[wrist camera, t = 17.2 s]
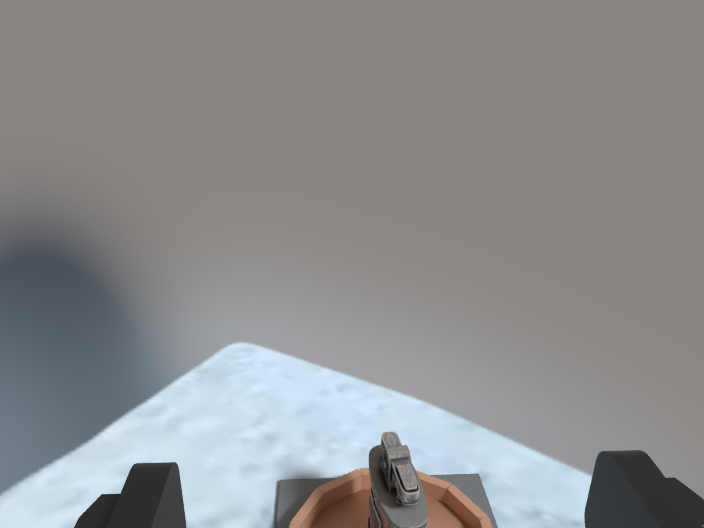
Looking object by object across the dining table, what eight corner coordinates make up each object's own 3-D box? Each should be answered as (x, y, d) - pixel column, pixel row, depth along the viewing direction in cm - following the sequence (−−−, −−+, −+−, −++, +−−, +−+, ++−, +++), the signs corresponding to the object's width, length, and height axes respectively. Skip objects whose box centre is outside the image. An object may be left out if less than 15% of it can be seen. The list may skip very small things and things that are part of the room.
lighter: (359, 520, 47) (361, 419, 43) (399, 514, 48) (405, 414, 44) (384, 612, 40) (389, 500, 36) (431, 603, 40) (441, 493, 37)
